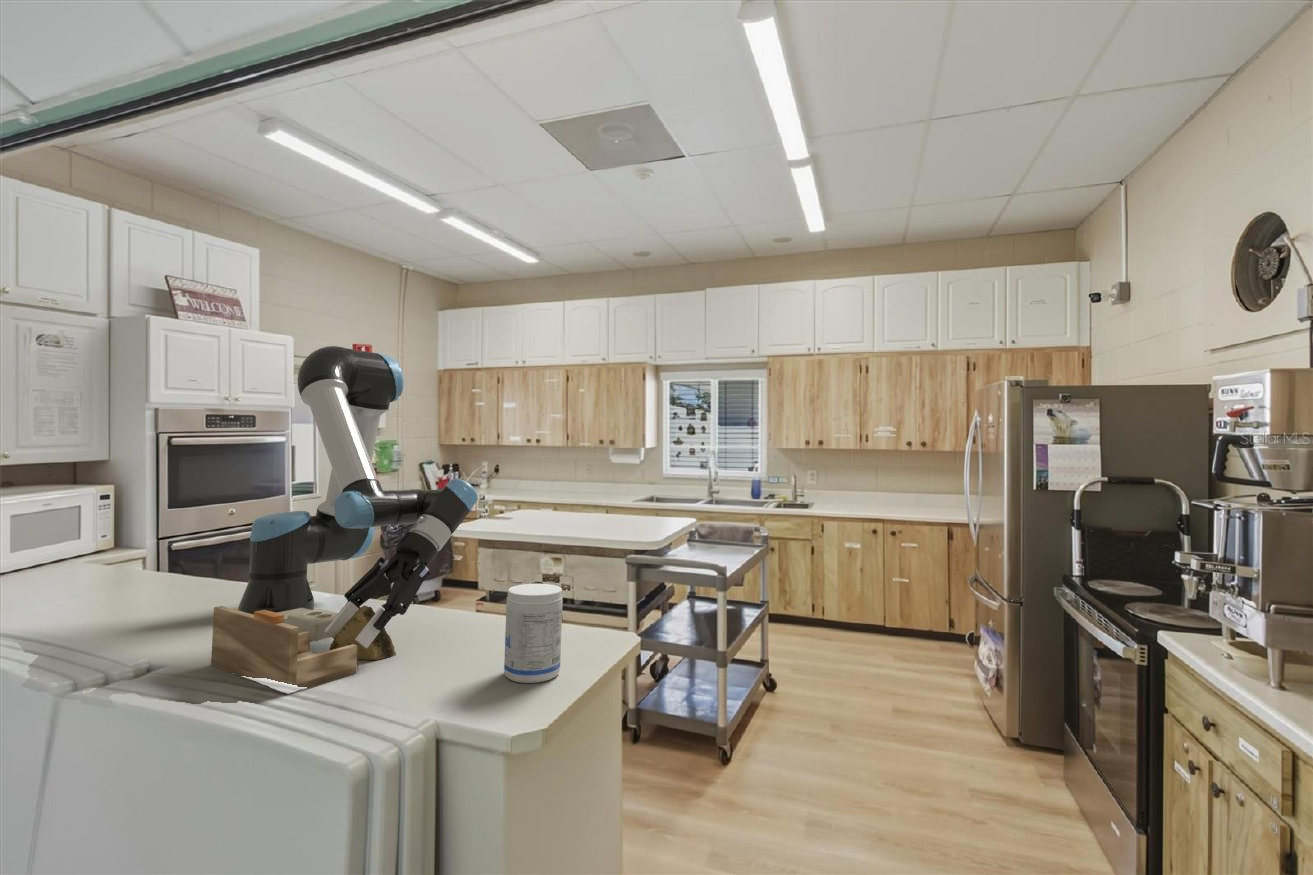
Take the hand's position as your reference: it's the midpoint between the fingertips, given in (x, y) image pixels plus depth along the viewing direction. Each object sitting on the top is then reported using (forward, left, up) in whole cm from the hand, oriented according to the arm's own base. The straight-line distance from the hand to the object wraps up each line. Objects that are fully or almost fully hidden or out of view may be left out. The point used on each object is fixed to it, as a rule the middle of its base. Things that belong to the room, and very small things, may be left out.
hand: (345, 639), depth 107 cm
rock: (-3, 0, -4) cm, 5 cm away
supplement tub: (-13, +33, -4) cm, 36 cm away
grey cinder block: (-7, -25, -4) cm, 26 cm away
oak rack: (+8, -5, -4) cm, 10 cm away
